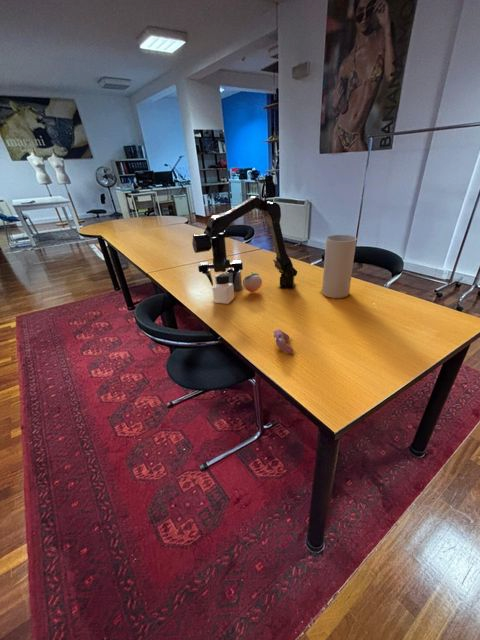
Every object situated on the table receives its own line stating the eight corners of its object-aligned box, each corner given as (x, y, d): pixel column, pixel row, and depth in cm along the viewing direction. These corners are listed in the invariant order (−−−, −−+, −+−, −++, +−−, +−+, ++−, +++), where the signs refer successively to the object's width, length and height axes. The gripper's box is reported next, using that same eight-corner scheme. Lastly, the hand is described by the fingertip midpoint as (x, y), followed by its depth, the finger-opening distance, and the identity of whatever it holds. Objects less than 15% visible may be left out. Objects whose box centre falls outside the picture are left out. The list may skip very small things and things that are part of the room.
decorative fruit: (253, 297, 137) (253, 276, 132) (240, 293, 142) (239, 273, 136) (266, 291, 144) (265, 271, 138) (252, 287, 148) (251, 268, 142)
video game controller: (278, 343, 105) (269, 328, 102) (290, 337, 105) (281, 322, 101) (282, 359, 97) (273, 343, 94) (295, 353, 96) (285, 337, 93)
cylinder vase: (316, 294, 138) (320, 238, 125) (330, 286, 146) (336, 233, 132) (340, 301, 131) (347, 242, 118) (353, 292, 139) (362, 237, 125)
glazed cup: (244, 286, 150) (242, 268, 145) (238, 291, 144) (237, 273, 139) (230, 285, 152) (229, 267, 147) (225, 290, 146) (223, 272, 141)
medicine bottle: (234, 298, 137) (232, 272, 131) (228, 304, 132) (225, 278, 125) (220, 296, 140) (218, 271, 133) (213, 302, 134) (210, 276, 127)
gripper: (194, 255, 116) (200, 293, 125) (241, 253, 117) (244, 290, 125) (197, 248, 125) (202, 283, 134) (241, 246, 126) (243, 281, 135)
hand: (222, 285), depth 132 cm, fingers open, 9 cm apart
